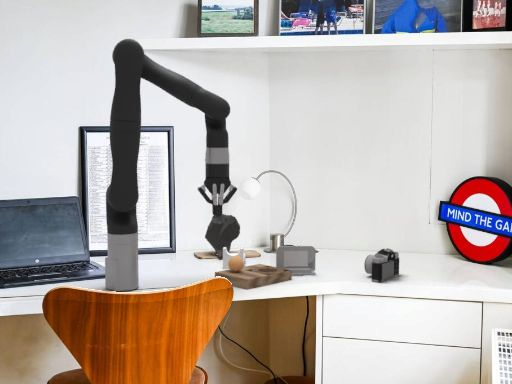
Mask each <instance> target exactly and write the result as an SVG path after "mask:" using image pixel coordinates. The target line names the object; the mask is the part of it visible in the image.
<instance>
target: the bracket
mask: <svg viewBox="0 0 512 384" xmlns="http://www.w3.org/2000/svg"><path fill="white" fill-rule="evenodd" d="M234 256H238V257H240V258H241V259H242V260H243V262H244V264H245V263H246V260H247V259H246V253H245V252H244V247H240V250H239V252H238V253H237V252H236V253H234V252H230V253H229V252H228V251H227V249H226V247H223V260H222V269H223V270H229V269H230V268H229V266H228V262H229V260H230V258H232V257H234Z"/></svg>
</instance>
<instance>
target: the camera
mask: <svg viewBox="0 0 512 384" xmlns="http://www.w3.org/2000/svg"><path fill="white" fill-rule="evenodd" d="M399 254H400V253H399V251H394V249H391V248H389V247H386V248H381V249H380V250H379V251H378V250H377V252H376V253H375V254H369V255H367V256H366V258H365V260H364V271H365V272H366V274H368V275H371V282H375V283H376V282H377V283H381V282H385V281H388V280H391V279H393V278H396V277H399V276H400V255H399Z"/></svg>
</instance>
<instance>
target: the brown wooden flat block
mask: <svg viewBox="0 0 512 384" xmlns="http://www.w3.org/2000/svg"><path fill="white" fill-rule="evenodd" d="M216 276H221V277H225V278H227V279H228V280H229V281H230V282H231V283H232V285H233V286H232V287H236V288H241V289H245V290H250V289H255V288H258V287H264V286H269V285H273V284H278V283H283V282H286V281H291V280H292V279H293V278H292V277H293V276H292V270H287V269H282V268H277V267H276V266H272V265H266V264H261V263H257V264H253V265H252V264H251V265H246V266H243V268H242V269H241V270H240V271H238V272H234V271H232V270H230V269H223V270H220V271H214V278H215V277H216Z"/></svg>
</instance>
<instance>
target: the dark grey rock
mask: <svg viewBox="0 0 512 384" xmlns="http://www.w3.org/2000/svg"><path fill="white" fill-rule="evenodd" d="M240 234H241V224H240V222H239V221H238V219H237V217H236V216H234V215H232V214H224V213H222V215H220V217H215V216H214V215H212V218H211V220H210V222H209V224H208V225H207V229H206V232H205V235H204V238H205V239H206V241H207V242H208V244H210V245H211V247H212V248H213V250H214V251H215V255H216V254H218V255H217V257H218V258H219V261H223V247H226V249H227V251H228V252H229V253H231V252H230V251H231V247H232V243H233V241H234V240H237V238H238V237H239V236H240Z"/></svg>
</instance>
